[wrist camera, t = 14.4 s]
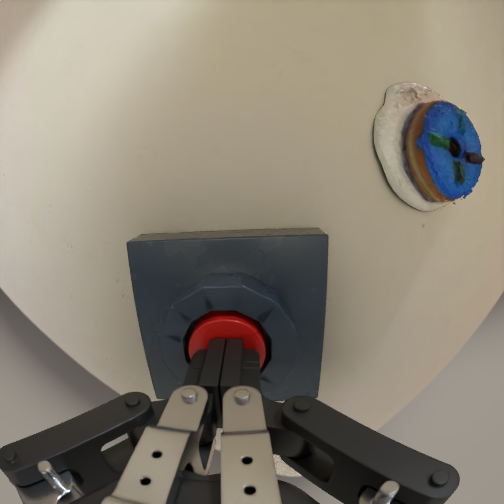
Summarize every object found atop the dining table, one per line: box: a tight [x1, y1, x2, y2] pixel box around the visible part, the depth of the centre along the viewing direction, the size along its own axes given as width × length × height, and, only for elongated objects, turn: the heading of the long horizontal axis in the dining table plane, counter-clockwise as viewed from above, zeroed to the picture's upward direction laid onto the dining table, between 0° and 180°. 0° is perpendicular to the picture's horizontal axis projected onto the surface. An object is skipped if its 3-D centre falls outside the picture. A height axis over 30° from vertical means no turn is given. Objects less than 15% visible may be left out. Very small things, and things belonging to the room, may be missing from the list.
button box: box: [127, 228, 328, 401], centre depth 15 cm, size 10×10×4 cm
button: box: [188, 310, 266, 368], centre depth 14 cm, size 4×4×2 cm
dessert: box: [374, 83, 485, 211], centre depth 14 cm, size 8×7×6 cm
